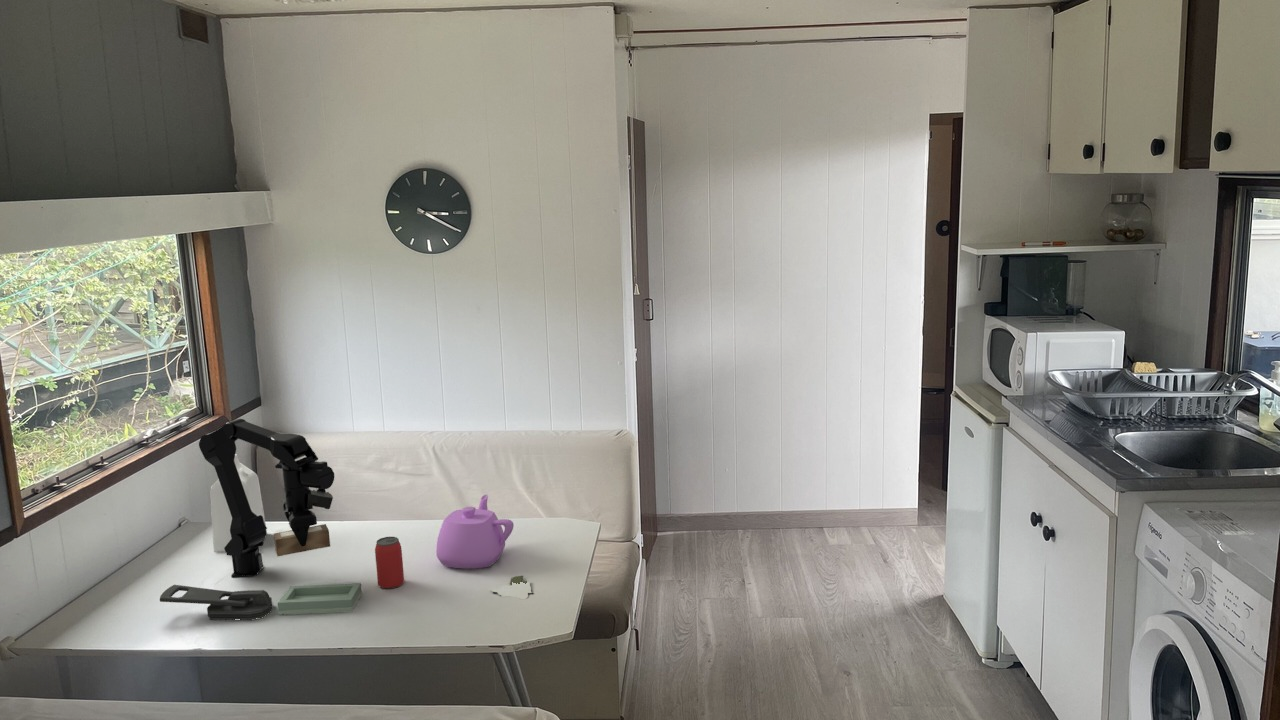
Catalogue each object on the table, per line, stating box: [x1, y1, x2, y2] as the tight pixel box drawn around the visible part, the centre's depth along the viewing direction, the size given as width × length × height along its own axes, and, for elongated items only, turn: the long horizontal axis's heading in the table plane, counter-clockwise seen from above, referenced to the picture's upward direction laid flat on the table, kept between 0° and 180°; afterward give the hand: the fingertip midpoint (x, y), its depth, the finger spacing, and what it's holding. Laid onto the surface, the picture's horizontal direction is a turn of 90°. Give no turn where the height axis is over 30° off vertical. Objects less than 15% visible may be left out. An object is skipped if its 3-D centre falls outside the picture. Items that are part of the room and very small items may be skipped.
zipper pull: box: [159, 584, 273, 621], centre depth 230 cm, size 9×7×25 cm
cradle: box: [277, 582, 363, 616], centre depth 233 cm, size 18×10×3 cm, turn 92°
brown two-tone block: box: [272, 523, 331, 557], centre depth 245 cm, size 13×5×5 cm, turn 117°
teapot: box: [435, 494, 514, 569], centre depth 259 cm, size 23×21×15 cm
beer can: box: [374, 536, 405, 590], centre depth 243 cm, size 7×7×12 cm
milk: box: [209, 453, 268, 553], centre depth 273 cm, size 12×12×26 cm
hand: (302, 542), depth 245 cm, fingers closed on brown two-tone block, 5 cm apart
